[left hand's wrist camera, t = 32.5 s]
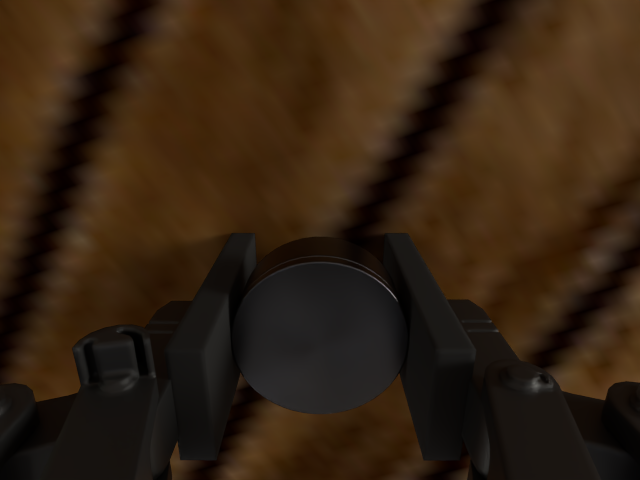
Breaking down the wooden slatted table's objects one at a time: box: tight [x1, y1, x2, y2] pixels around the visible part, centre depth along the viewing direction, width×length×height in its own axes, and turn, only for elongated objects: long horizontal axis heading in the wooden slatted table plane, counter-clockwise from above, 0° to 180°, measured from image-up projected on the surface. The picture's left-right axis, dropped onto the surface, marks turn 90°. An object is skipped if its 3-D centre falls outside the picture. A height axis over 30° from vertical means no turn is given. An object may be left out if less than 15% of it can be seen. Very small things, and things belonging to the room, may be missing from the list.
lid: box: [231, 237, 409, 414], centre depth 11 cm, size 4×4×2 cm
